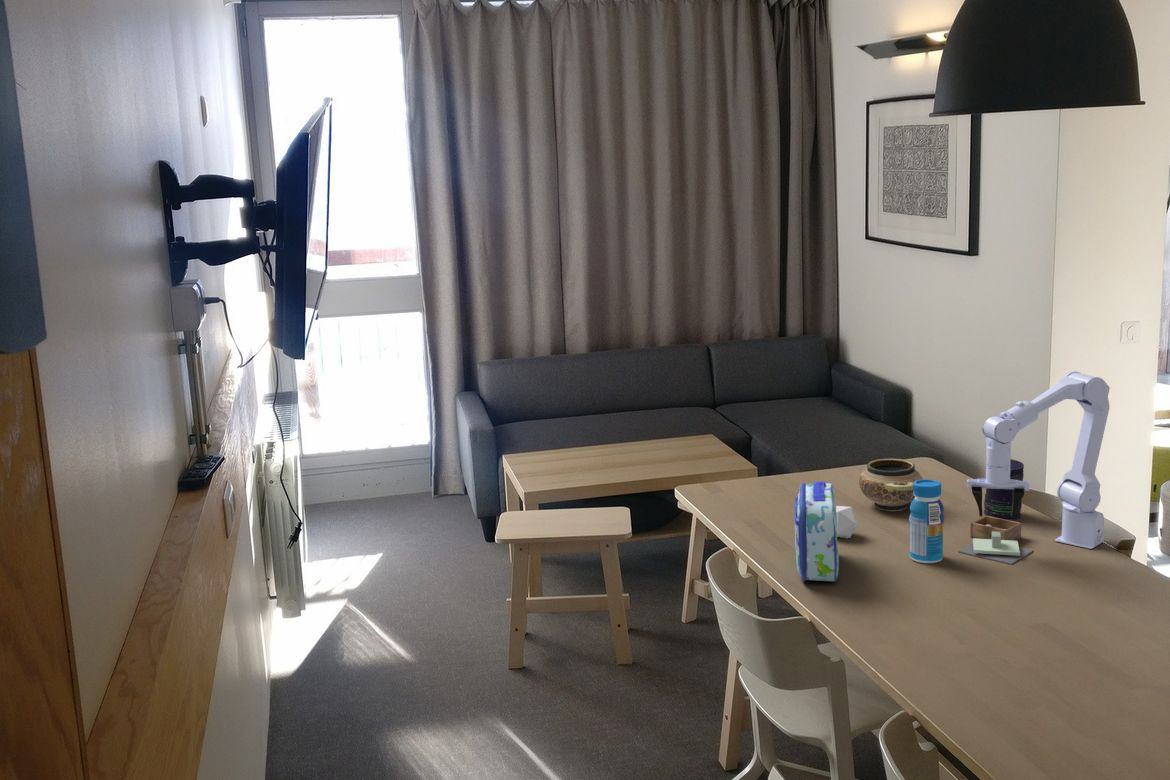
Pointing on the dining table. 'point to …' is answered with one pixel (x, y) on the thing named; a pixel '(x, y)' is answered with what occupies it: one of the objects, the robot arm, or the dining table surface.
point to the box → (995, 528)
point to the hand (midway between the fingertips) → (996, 516)
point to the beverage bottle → (926, 522)
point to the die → (845, 521)
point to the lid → (996, 545)
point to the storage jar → (1004, 496)
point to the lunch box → (816, 532)
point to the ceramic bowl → (889, 483)
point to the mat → (997, 555)
